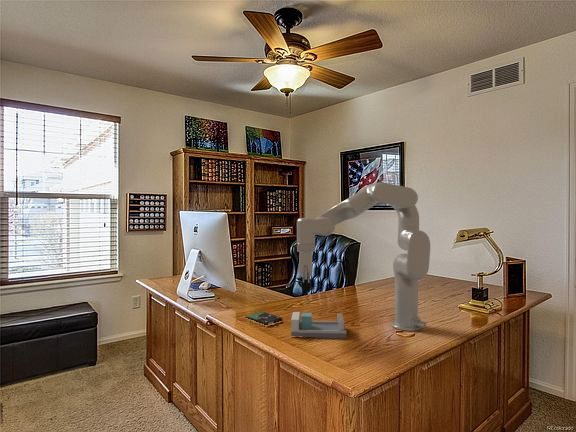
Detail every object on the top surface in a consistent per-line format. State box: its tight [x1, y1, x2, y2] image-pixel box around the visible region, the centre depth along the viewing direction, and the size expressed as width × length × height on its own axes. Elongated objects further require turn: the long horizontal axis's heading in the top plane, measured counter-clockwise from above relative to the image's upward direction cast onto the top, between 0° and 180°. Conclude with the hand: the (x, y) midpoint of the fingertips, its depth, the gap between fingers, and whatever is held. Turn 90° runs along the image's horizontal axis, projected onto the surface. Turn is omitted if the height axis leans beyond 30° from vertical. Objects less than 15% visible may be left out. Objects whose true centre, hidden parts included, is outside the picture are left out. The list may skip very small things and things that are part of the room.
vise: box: [290, 311, 348, 339], centre depth 150 cm, size 22×12×7 cm, turn 86°
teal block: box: [301, 312, 313, 330], centre depth 151 cm, size 4×5×6 cm
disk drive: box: [244, 311, 283, 325], centre depth 166 cm, size 10×3×15 cm
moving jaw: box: [336, 313, 345, 331], centre depth 149 cm, size 2×10×4 cm, turn 176°
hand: (306, 291), depth 150 cm, fingers closed
